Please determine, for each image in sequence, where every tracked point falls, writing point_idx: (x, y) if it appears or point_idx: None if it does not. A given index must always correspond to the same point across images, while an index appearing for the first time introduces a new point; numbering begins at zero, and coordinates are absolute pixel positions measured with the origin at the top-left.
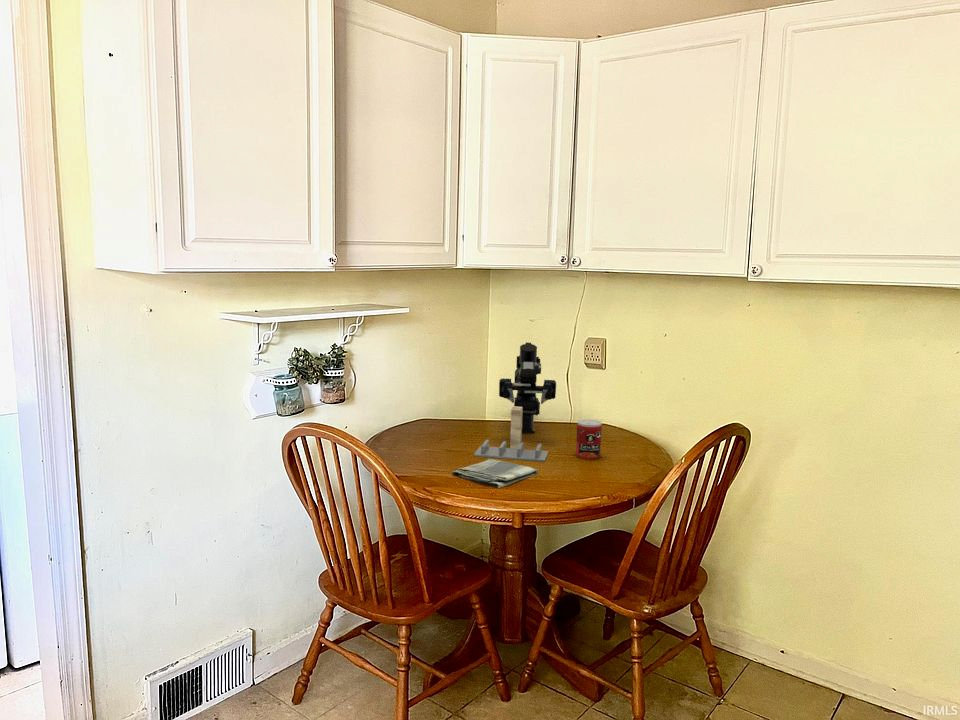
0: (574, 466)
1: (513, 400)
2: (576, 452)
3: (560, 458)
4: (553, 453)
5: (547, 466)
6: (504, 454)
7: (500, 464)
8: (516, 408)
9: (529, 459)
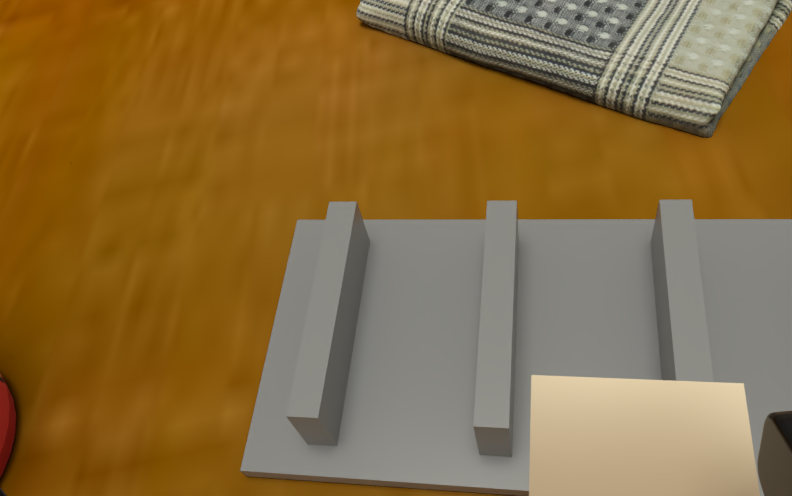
0: (112, 192)
1: (775, 414)
2: (2, 411)
3: (167, 343)
4: (198, 478)
5: (290, 150)
6: (638, 279)
7: (598, 10)
8: (646, 488)
9: (413, 222)
